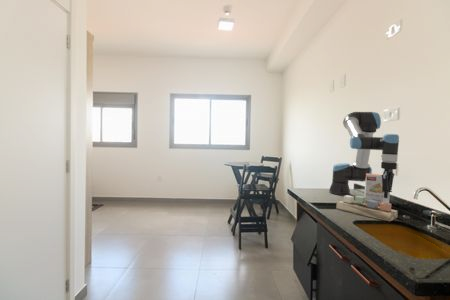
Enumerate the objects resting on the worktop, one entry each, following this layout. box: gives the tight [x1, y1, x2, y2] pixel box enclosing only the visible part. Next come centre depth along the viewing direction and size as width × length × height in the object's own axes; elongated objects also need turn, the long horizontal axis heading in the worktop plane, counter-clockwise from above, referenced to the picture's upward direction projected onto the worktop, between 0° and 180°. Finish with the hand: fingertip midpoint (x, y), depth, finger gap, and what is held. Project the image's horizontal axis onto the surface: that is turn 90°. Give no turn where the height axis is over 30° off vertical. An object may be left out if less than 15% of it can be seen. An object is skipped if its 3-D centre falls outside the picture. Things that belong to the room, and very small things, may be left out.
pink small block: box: [380, 202, 392, 212], centre depth 157 cm, size 4×4×6 cm
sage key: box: [354, 195, 366, 206], centre depth 167 cm, size 4×4×6 cm
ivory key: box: [343, 195, 355, 204], centre depth 172 cm, size 4×4×6 cm
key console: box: [335, 200, 399, 222], centre depth 165 cm, size 12×30×4 cm, turn 42°
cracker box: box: [363, 173, 384, 207], centre depth 180 cm, size 14×6×21 cm, turn 68°
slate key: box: [367, 200, 378, 209], centre depth 162 cm, size 4×4×6 cm
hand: (385, 203), depth 156 cm, fingers closed
